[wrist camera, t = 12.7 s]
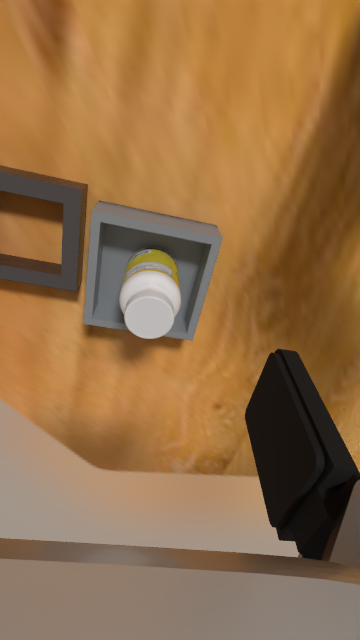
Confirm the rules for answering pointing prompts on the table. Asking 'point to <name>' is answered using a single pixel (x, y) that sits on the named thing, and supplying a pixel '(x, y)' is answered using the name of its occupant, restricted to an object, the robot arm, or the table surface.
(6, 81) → the table surface
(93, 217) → the tray
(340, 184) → the table surface
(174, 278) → the supplement bottle
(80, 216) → the socket collar
